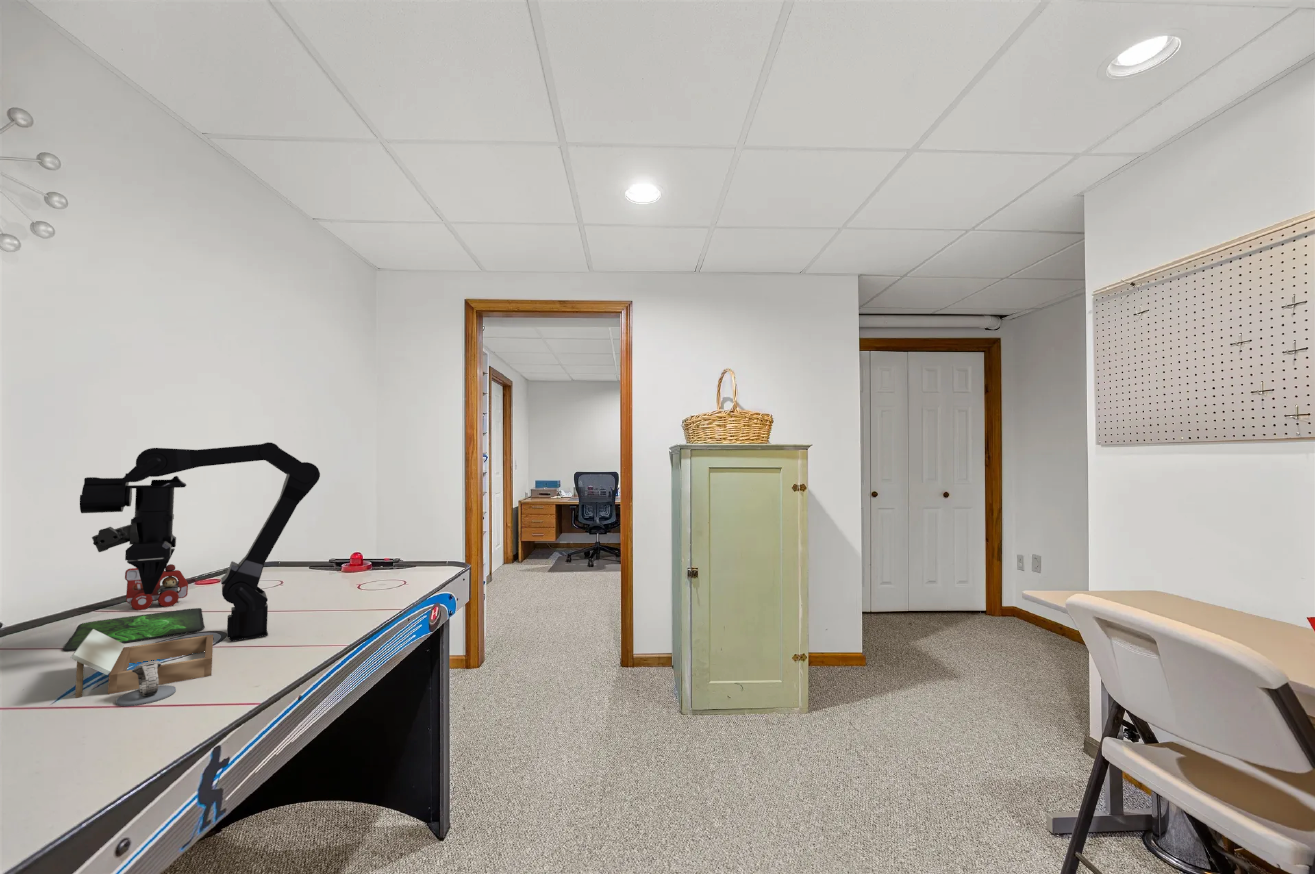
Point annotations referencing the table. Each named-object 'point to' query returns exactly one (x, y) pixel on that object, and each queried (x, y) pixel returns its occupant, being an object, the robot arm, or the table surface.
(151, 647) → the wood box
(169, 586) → the toy fire truck
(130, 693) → the felt pad
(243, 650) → the table surface
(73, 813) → the table surface
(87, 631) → the mouse mat
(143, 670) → the wristwatch
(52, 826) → the table surface
